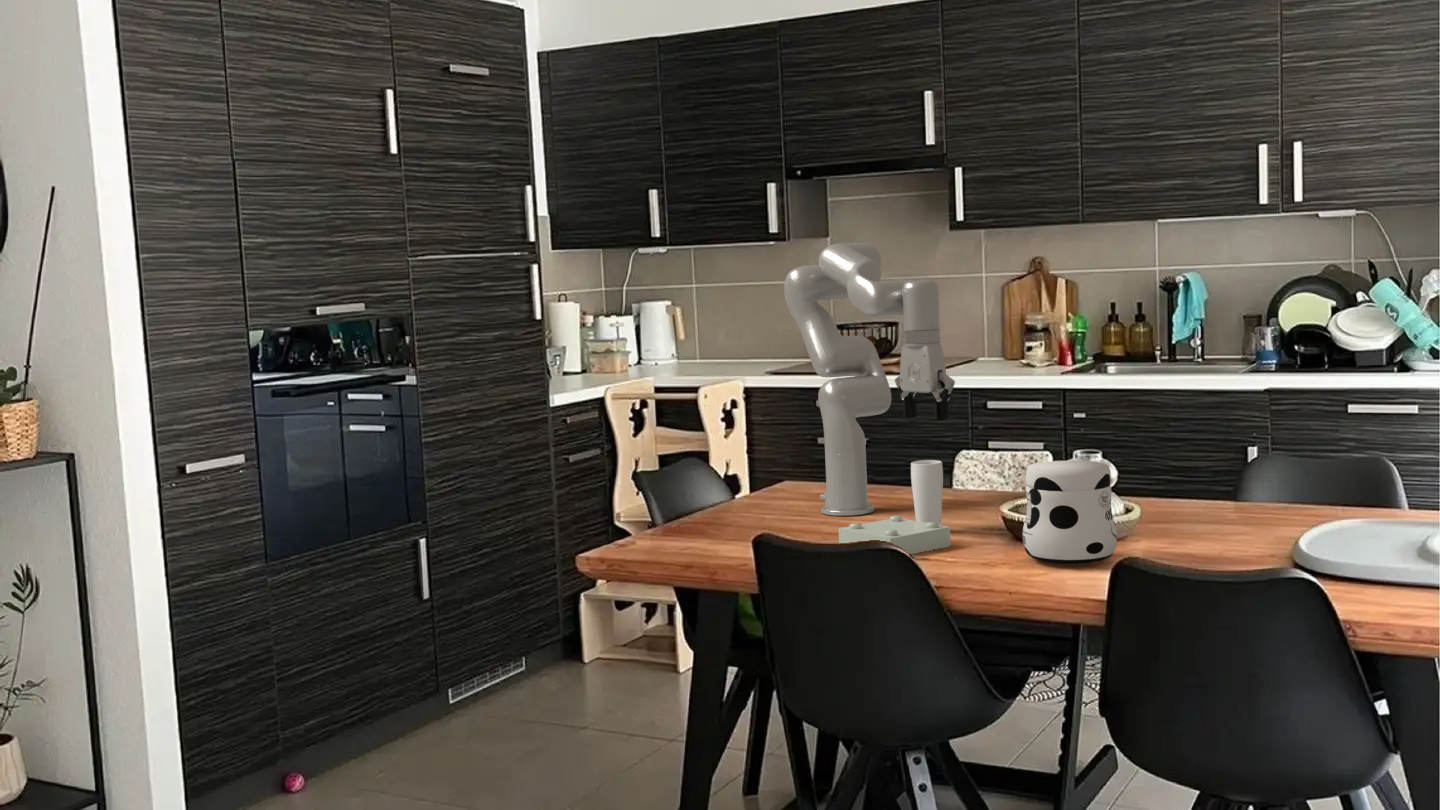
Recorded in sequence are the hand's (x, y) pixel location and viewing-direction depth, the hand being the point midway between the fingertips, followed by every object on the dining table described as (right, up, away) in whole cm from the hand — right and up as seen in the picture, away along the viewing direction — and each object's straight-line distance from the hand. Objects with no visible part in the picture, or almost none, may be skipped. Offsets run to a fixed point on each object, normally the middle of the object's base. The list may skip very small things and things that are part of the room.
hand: (925, 418), depth 295 cm
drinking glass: (+1, -24, +3) cm, 25 cm away
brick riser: (-8, -26, -12) cm, 30 cm away
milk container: (+23, -27, -32) cm, 48 cm away
